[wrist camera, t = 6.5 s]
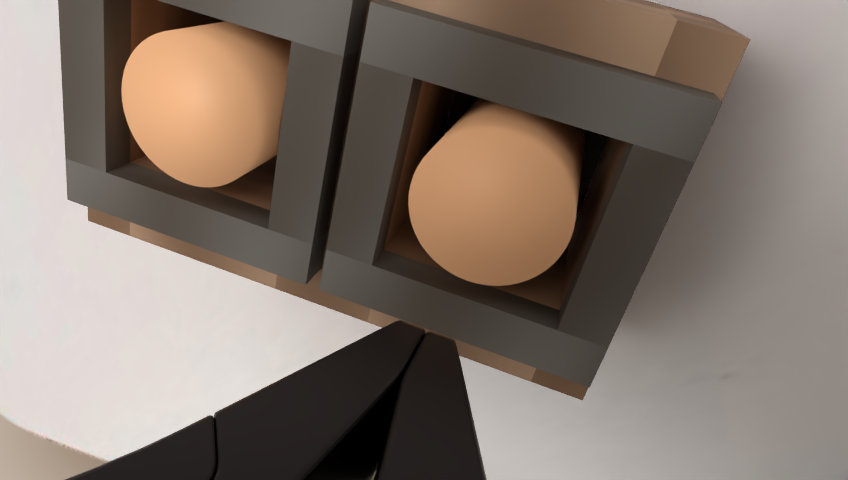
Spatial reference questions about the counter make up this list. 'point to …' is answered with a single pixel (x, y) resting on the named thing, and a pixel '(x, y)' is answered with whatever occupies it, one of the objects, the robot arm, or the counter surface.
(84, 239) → the counter surface
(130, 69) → the peg
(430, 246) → the peg
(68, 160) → the socket block
